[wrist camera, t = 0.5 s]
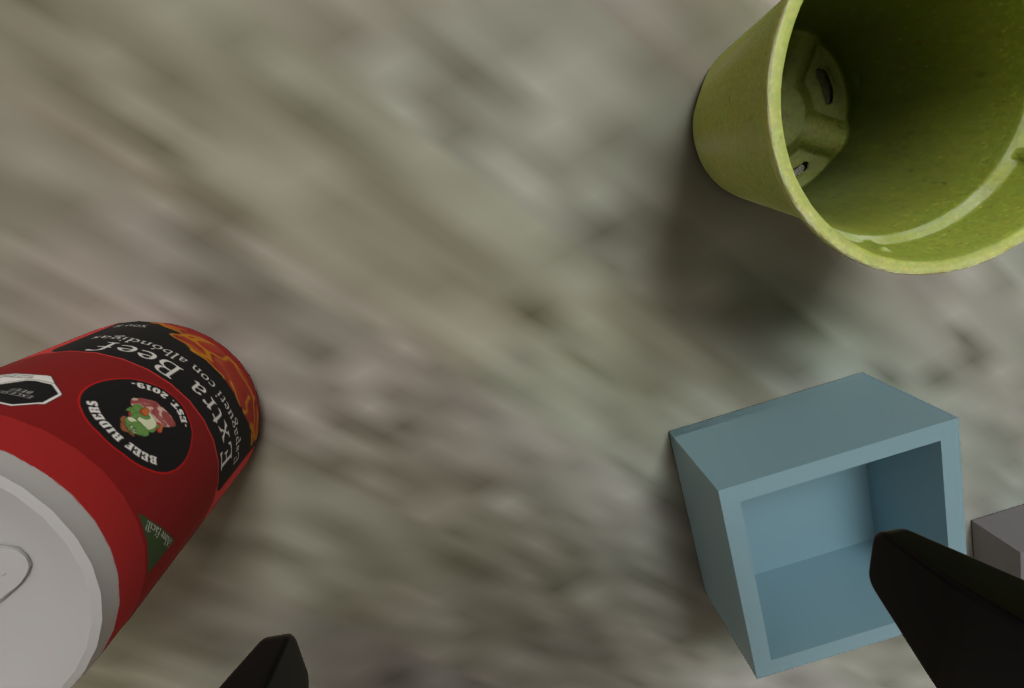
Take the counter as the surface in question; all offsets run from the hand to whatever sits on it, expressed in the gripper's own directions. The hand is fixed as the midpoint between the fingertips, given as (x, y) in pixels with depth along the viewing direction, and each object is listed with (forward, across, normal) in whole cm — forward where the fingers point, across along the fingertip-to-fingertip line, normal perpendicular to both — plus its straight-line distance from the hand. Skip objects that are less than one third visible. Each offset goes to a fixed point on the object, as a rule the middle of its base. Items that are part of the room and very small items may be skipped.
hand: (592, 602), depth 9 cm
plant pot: (+16, -11, -6) cm, 20 cm away
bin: (+14, -11, +10) cm, 21 cm away
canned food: (+15, +14, +2) cm, 21 cm away
